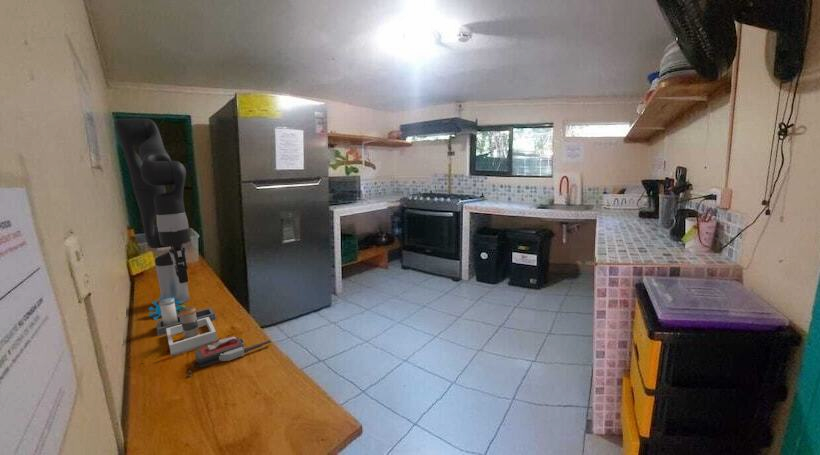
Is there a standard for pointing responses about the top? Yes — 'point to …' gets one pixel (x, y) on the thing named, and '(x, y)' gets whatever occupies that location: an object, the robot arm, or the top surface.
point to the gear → (158, 310)
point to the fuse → (168, 311)
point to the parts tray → (193, 341)
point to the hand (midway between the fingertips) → (182, 278)
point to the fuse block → (199, 315)
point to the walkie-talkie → (223, 351)
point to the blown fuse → (189, 322)
